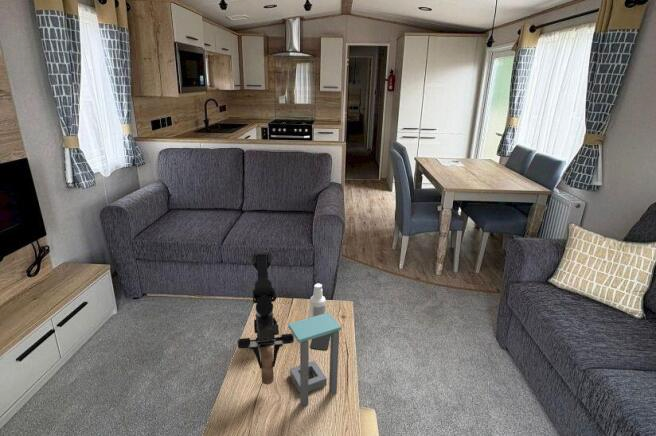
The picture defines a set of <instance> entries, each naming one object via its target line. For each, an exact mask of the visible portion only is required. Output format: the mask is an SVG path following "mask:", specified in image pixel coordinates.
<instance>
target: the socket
mask: <svg viewBox="0 0 656 436" xmlns="http://www.w3.org/2000/svg"><path fill="white" fill-rule="evenodd" d="M308 374H312V376H314V377H312V378H310V379H309V378H308V393H309V392H311V391H313V390H317V389H319V388H322V387H324V386H327V383H328V381H327V379H328V378H327V376H326V375H325V374H324V373H323V371H322V369H321V368H320V366H319V365H318V364H317V362H316V361H315V360H312V361H308ZM289 376H290V378H291V380H292V381H293V383H294V385H295V388H297V391H298V392H299V393H300V365H296V366H293V367H291V368H289Z"/></svg>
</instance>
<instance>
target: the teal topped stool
mask: <svg viewBox="0 0 656 436" xmlns="http://www.w3.org/2000/svg"><path fill="white" fill-rule="evenodd" d="M287 325H288V326H287V327H288V329H289V330H290V332H291V334H292V335H293V337H294V339H296V341H297V343H299V349H300V350H299V358H300V362H299V366H300V392H299V394H300V398H299V399H300V400H299V401H300V404H301V406H302V407H305V406H308V405H309V392H308V380H309V373H308V362H309V353H310V352H309V348H310V345H309V344H310V343H309V341H312V339H314V338H317V337H320V336H324V335H327V334H330V333H331V337H330V351H329V356H330V357H329V380H328V381H329V384H328V387H329V388H328V392H329V394H330V395H332V396H333V395H335V394H337V393H338V392H337V391H338V371H339V370H338V369H339V345H340V331H342V326H341V324H340V323H339V322H337V320H336V319H335V318H334V317H333V316H332V314H331V313H330V312H325V314H321V315H318V316H314V317H311V318H310V317H308V318H304V319H301V320H297V321H294V322H291V323H288V324H287Z"/></svg>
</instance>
